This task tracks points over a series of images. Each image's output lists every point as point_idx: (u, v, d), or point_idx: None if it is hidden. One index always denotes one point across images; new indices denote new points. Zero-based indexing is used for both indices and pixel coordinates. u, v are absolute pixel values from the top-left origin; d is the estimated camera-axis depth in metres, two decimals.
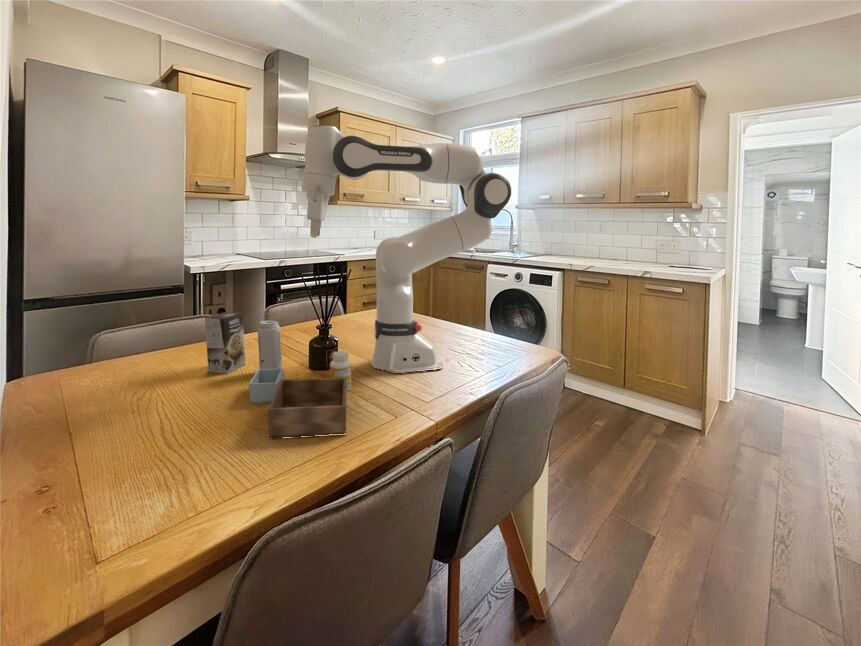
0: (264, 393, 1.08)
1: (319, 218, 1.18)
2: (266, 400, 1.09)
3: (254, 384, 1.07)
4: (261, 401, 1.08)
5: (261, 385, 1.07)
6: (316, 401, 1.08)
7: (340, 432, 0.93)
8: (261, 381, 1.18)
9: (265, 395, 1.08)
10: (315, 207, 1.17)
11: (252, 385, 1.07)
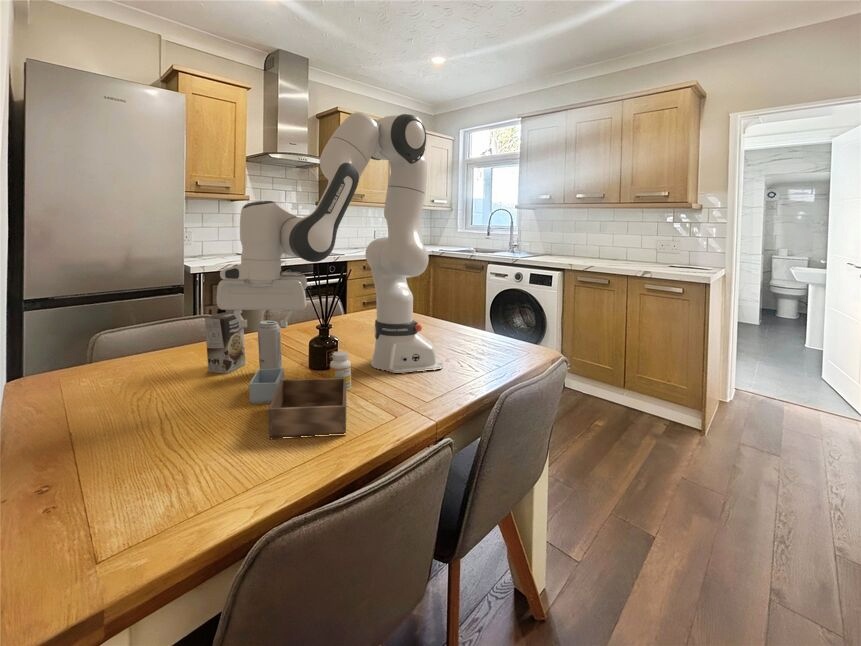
0: (264, 393, 1.08)
1: None
2: (266, 400, 1.09)
3: (254, 384, 1.07)
4: (261, 401, 1.08)
5: (261, 385, 1.07)
6: (316, 401, 1.08)
7: (340, 432, 0.93)
8: (261, 381, 1.18)
9: (265, 395, 1.08)
10: (305, 295, 1.10)
11: (252, 385, 1.07)
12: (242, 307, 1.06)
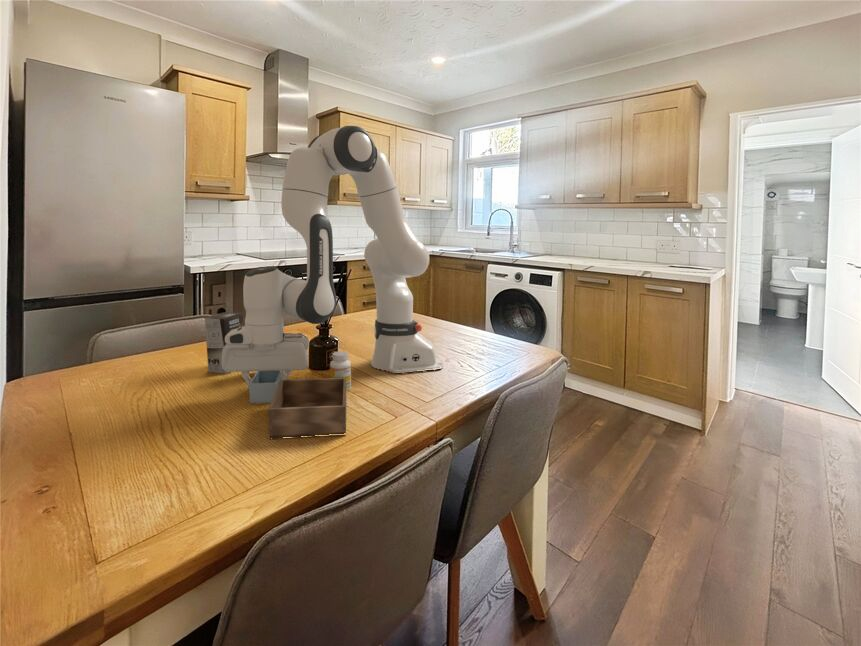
0: (264, 393, 1.08)
1: None
2: (266, 400, 1.09)
3: (254, 384, 1.07)
4: (261, 401, 1.08)
5: (261, 385, 1.07)
6: (316, 401, 1.08)
7: (340, 432, 0.93)
8: (261, 381, 1.18)
9: (265, 395, 1.08)
10: (307, 355, 1.14)
11: (252, 385, 1.07)
12: (246, 369, 1.10)
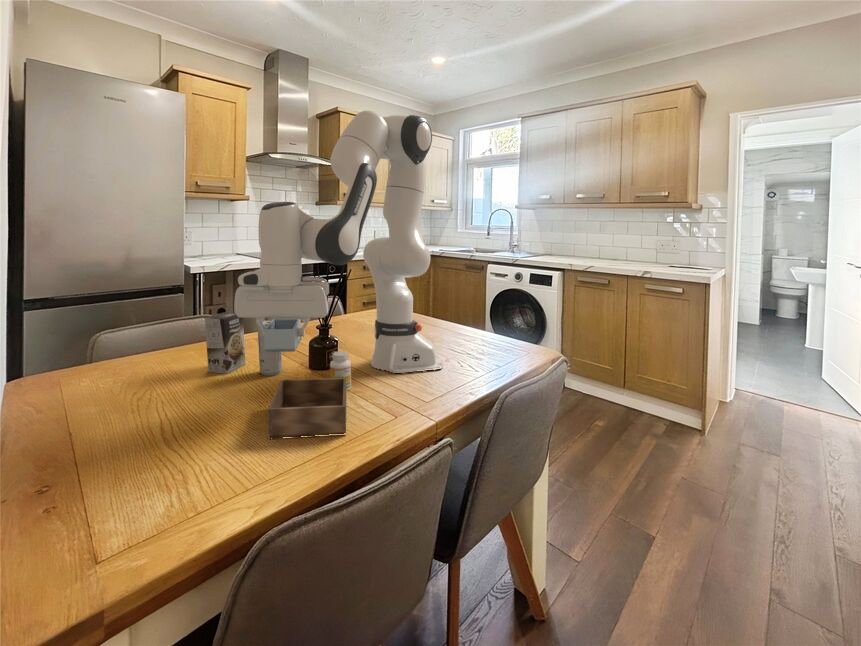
0: (280, 340, 0.98)
1: None
2: (282, 348, 0.99)
3: (269, 330, 0.98)
4: (277, 349, 0.99)
5: (277, 331, 0.98)
6: (316, 401, 1.08)
7: (340, 432, 0.93)
8: None
9: (281, 343, 0.99)
10: (327, 302, 1.04)
11: (267, 331, 0.98)
12: (261, 315, 1.00)
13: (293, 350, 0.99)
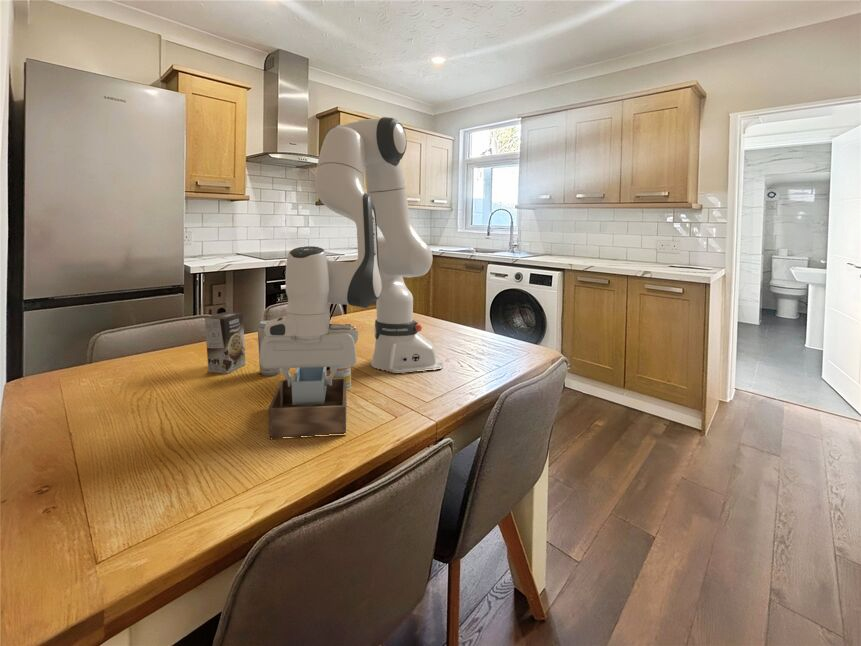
0: (309, 393, 0.93)
1: None
2: (311, 401, 0.94)
3: (297, 382, 0.93)
4: (305, 402, 0.94)
5: (306, 383, 0.93)
6: None
7: (340, 432, 0.93)
8: (301, 379, 1.03)
9: (310, 395, 0.94)
10: None
11: (295, 384, 0.93)
12: (287, 365, 0.95)
13: (322, 403, 0.94)
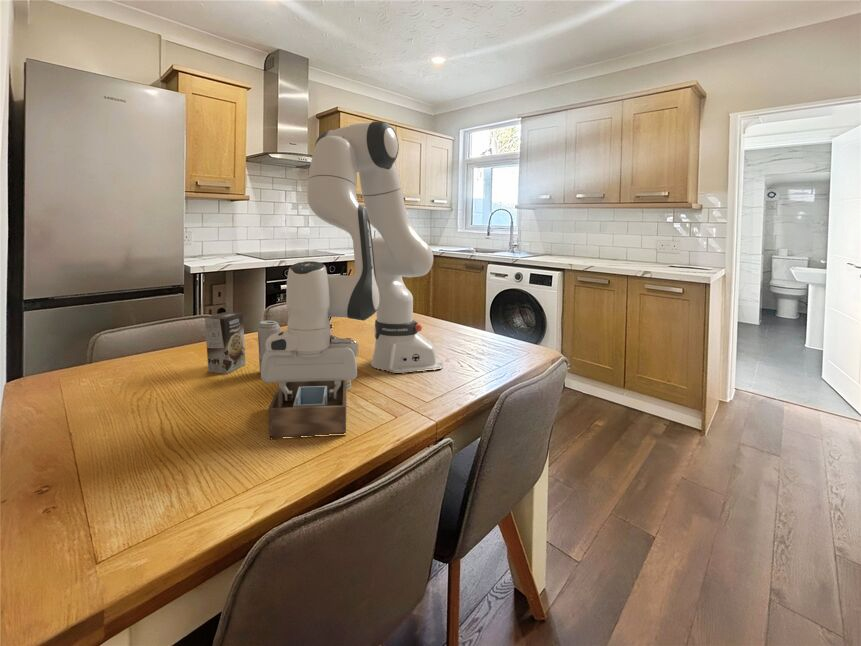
0: None
1: None
2: None
3: (299, 406, 0.94)
4: None
5: (307, 406, 0.94)
6: None
7: (340, 432, 0.93)
8: (302, 400, 1.04)
9: None
10: None
11: None
12: (288, 379, 0.96)
13: None
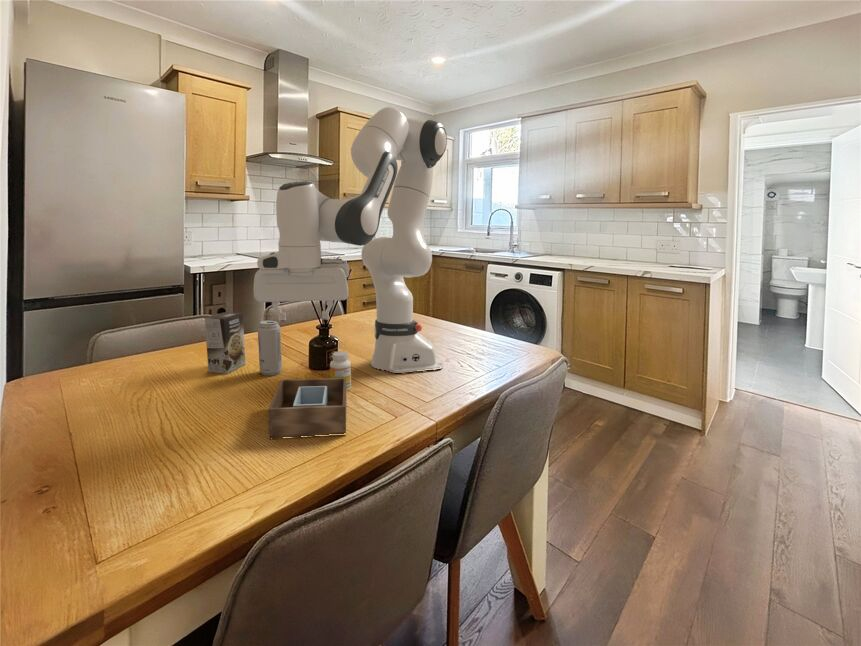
0: None
1: None
2: None
3: (299, 406, 0.94)
4: None
5: (307, 406, 0.94)
6: None
7: (340, 432, 0.93)
8: (302, 400, 1.04)
9: None
10: None
11: None
12: (281, 299, 0.98)
13: None
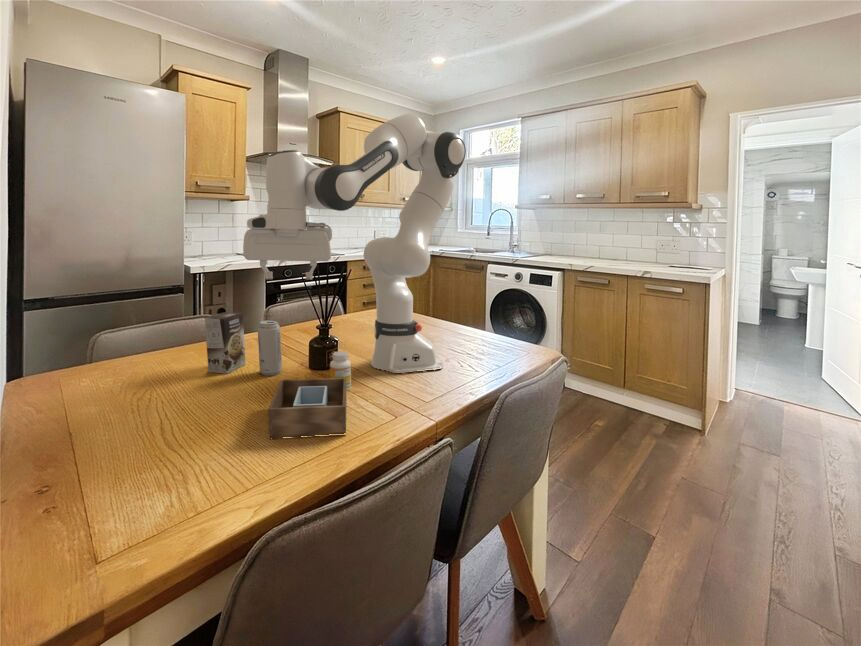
0: None
1: None
2: None
3: (299, 406, 0.94)
4: None
5: (307, 406, 0.94)
6: None
7: (340, 432, 0.93)
8: (302, 400, 1.04)
9: None
10: None
11: None
12: (268, 257, 1.07)
13: None
